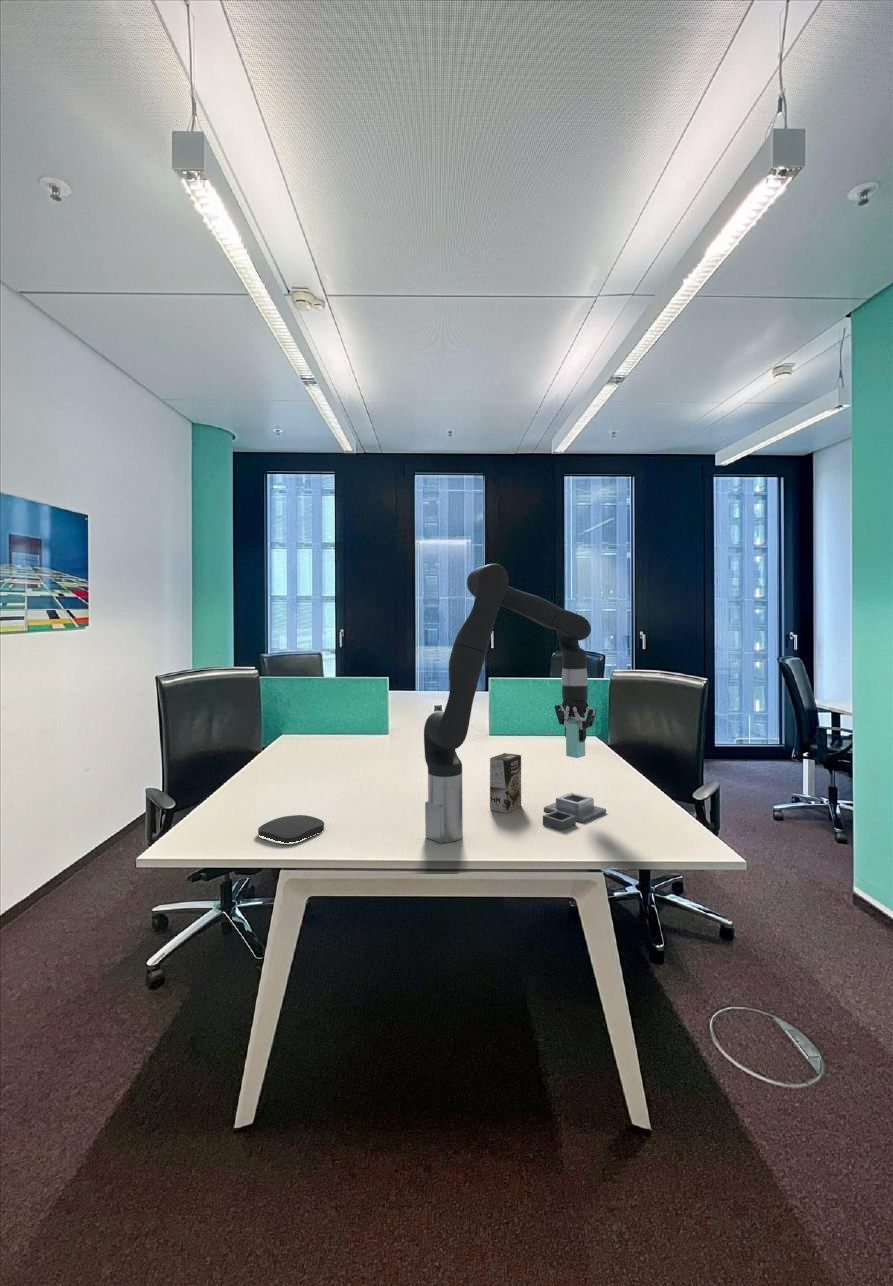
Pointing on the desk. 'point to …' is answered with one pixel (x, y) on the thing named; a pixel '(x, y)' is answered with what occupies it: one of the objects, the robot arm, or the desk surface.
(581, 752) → the plug
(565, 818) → the dark grey square tray
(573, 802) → the grey stepped base
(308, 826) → the media streaming box
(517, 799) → the coffee box
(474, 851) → the desk surface
